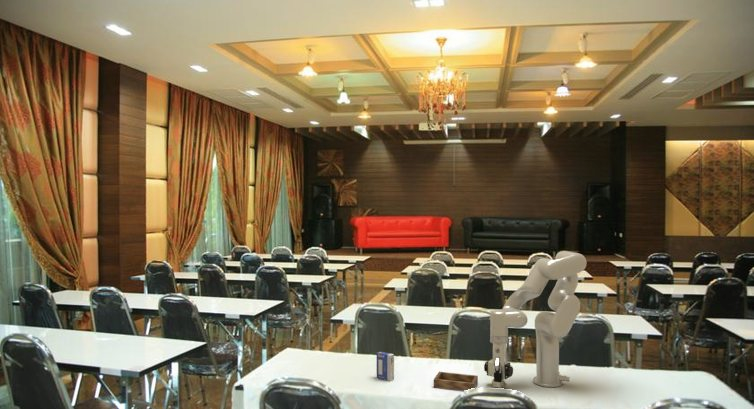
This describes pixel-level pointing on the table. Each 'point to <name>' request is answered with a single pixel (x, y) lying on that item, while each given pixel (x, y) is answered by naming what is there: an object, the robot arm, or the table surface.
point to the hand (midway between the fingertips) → (498, 378)
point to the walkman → (385, 366)
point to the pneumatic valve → (505, 371)
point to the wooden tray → (455, 381)
